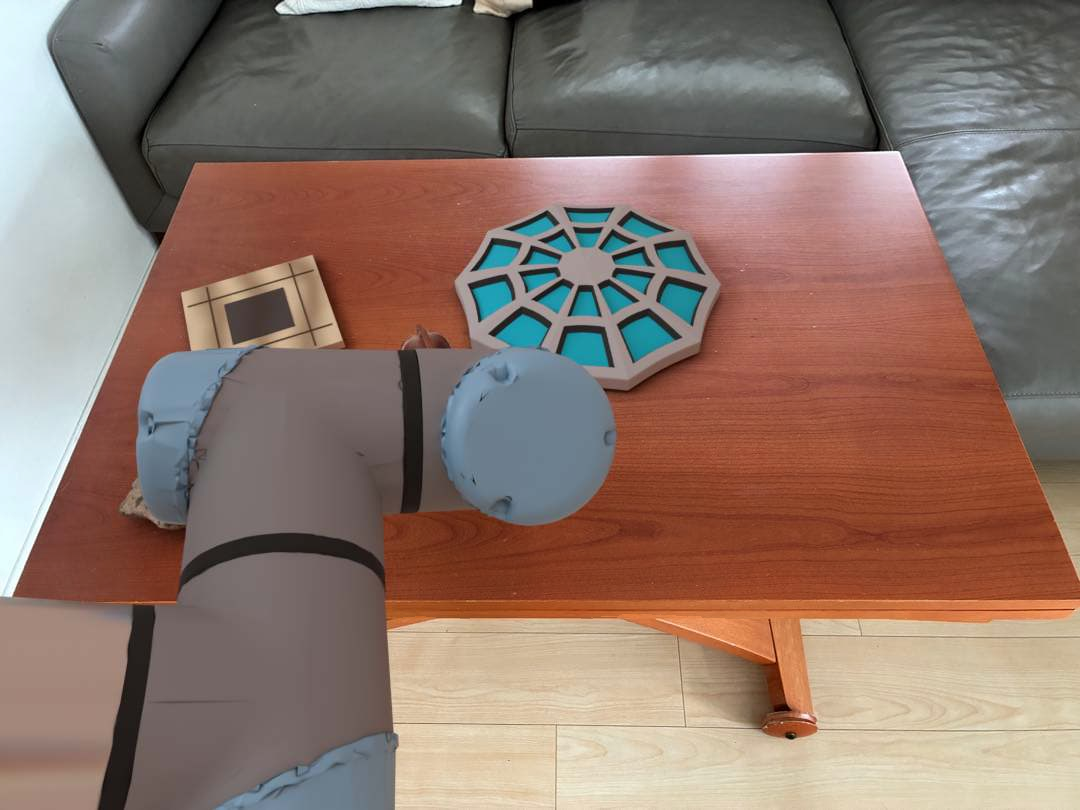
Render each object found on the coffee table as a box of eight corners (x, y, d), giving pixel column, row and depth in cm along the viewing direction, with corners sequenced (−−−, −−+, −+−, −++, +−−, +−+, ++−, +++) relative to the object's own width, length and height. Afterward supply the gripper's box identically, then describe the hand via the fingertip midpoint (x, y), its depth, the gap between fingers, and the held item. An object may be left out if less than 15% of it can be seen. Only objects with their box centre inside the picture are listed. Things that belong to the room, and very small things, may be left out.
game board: (201, 393, 83) (196, 385, 82) (184, 299, 92) (180, 291, 91) (345, 347, 86) (342, 339, 85) (315, 261, 96) (312, 253, 95)
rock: (219, 554, 71) (201, 530, 67) (118, 524, 73) (96, 501, 70) (276, 463, 77) (262, 437, 74) (181, 438, 79) (164, 413, 76)
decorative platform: (439, 389, 82) (431, 358, 78) (471, 217, 100) (466, 184, 96) (730, 396, 80) (738, 364, 76) (709, 218, 98) (714, 185, 94)
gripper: (352, 523, 44) (348, 466, 67) (629, 423, 48) (538, 401, 71) (308, 401, 43) (319, 384, 66) (595, 308, 47) (513, 322, 70)
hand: (432, 393), depth 68 cm, fingers closed on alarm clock, 5 cm apart
